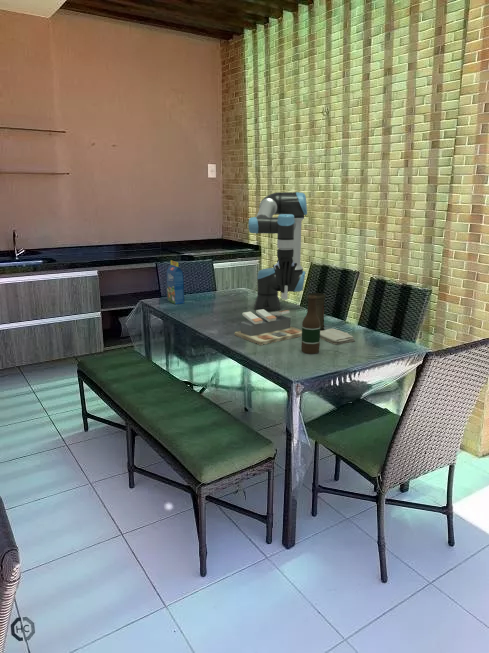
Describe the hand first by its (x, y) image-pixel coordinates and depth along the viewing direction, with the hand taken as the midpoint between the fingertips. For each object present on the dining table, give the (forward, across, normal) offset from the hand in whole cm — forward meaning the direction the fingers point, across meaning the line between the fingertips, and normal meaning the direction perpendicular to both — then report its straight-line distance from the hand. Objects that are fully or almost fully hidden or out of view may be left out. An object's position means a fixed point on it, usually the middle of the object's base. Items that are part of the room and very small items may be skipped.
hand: (284, 299), depth 234 cm
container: (+17, -15, +6) cm, 23 cm away
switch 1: (+9, +15, -5) cm, 19 cm away
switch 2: (+9, -1, -4) cm, 10 cm away
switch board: (+16, +7, 0) cm, 18 cm away
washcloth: (+17, -12, +21) cm, 30 cm away
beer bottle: (+17, +9, +29) cm, 34 cm away
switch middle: (+9, +7, -5) cm, 13 cm away
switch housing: (+15, +7, -4) cm, 17 cm away
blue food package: (+17, +10, -90) cm, 92 cm away
